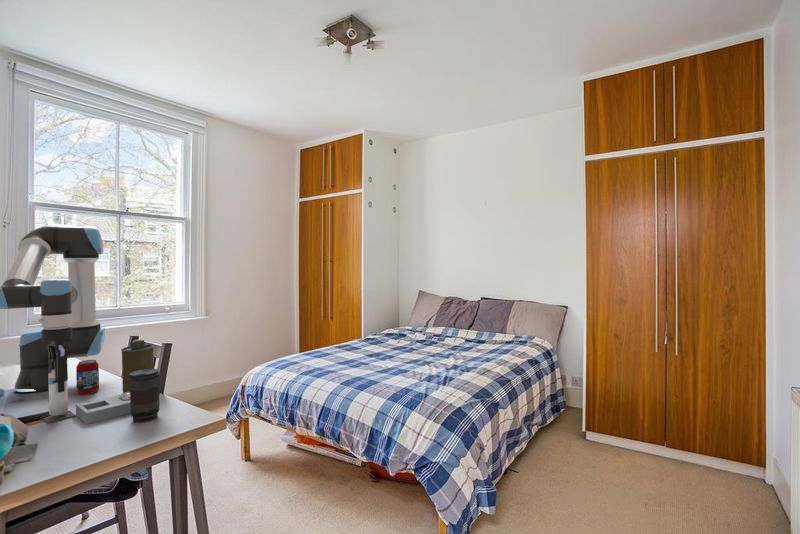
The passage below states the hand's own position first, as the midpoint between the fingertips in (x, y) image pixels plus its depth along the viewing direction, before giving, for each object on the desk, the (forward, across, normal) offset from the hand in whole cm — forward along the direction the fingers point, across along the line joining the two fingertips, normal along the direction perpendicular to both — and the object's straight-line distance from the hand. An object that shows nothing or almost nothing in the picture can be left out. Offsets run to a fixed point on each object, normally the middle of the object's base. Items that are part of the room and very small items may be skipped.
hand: (58, 399), depth 130 cm
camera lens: (+6, +23, +17) cm, 29 cm away
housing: (+6, +8, +12) cm, 16 cm away
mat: (+6, 0, 0) cm, 6 cm away
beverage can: (+6, -23, +13) cm, 27 cm away
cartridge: (+4, 0, 0) cm, 4 cm away
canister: (+6, -7, +25) cm, 27 cm away
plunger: (+5, +8, +17) cm, 19 cm away
